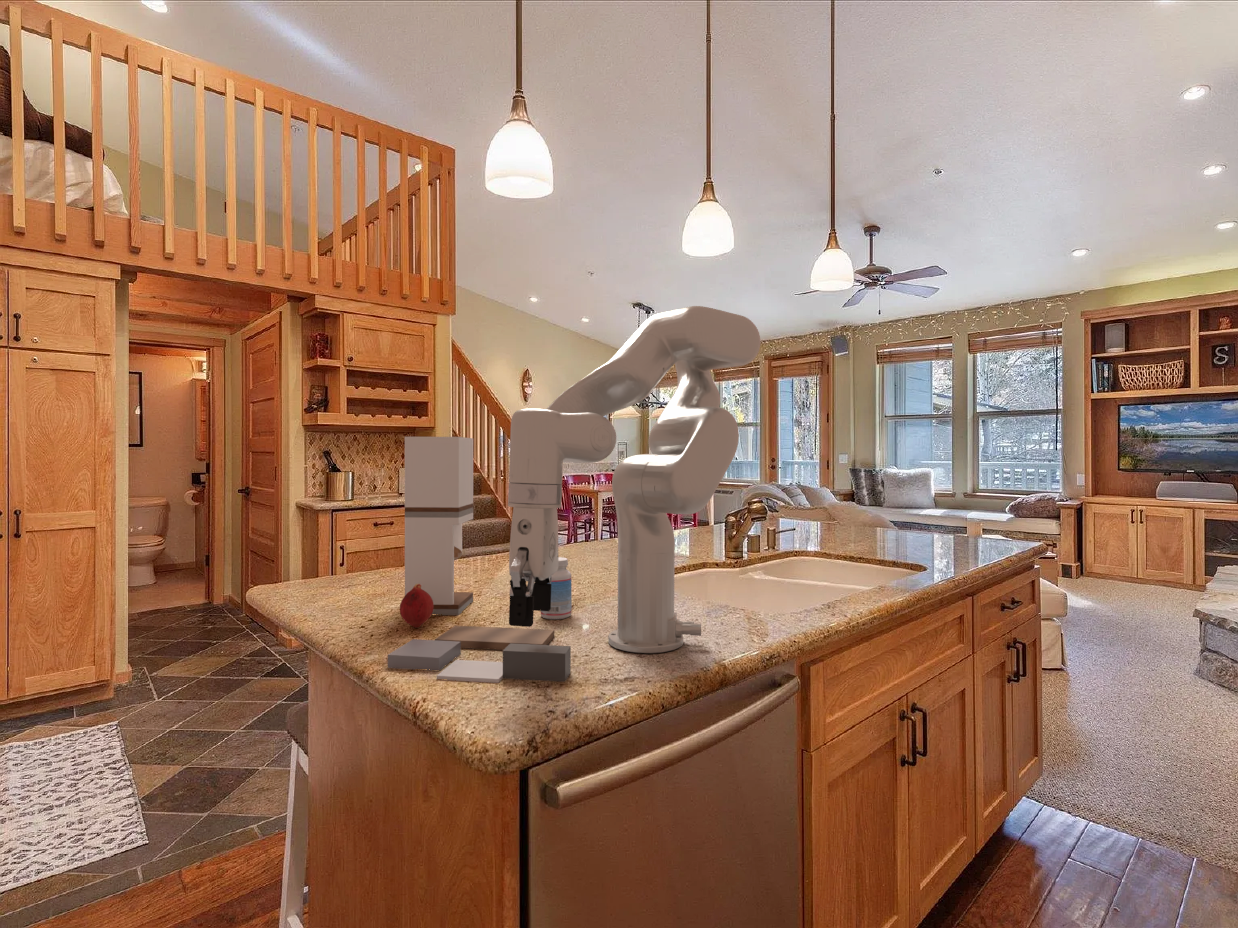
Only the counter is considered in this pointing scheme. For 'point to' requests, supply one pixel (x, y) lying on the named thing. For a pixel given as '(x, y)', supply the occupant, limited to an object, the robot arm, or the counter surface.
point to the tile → (424, 654)
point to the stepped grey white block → (515, 665)
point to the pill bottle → (560, 593)
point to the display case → (437, 516)
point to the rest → (496, 636)
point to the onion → (416, 606)
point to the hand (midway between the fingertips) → (530, 617)
